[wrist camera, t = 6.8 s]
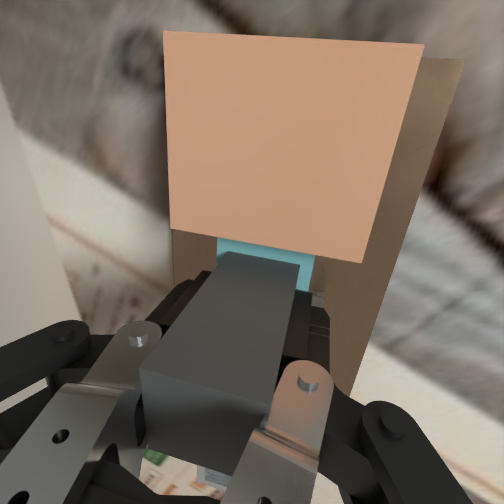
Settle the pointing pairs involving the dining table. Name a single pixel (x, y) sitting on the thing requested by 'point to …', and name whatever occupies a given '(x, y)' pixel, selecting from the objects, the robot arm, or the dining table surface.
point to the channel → (379, 243)
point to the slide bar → (222, 356)
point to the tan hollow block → (283, 136)
